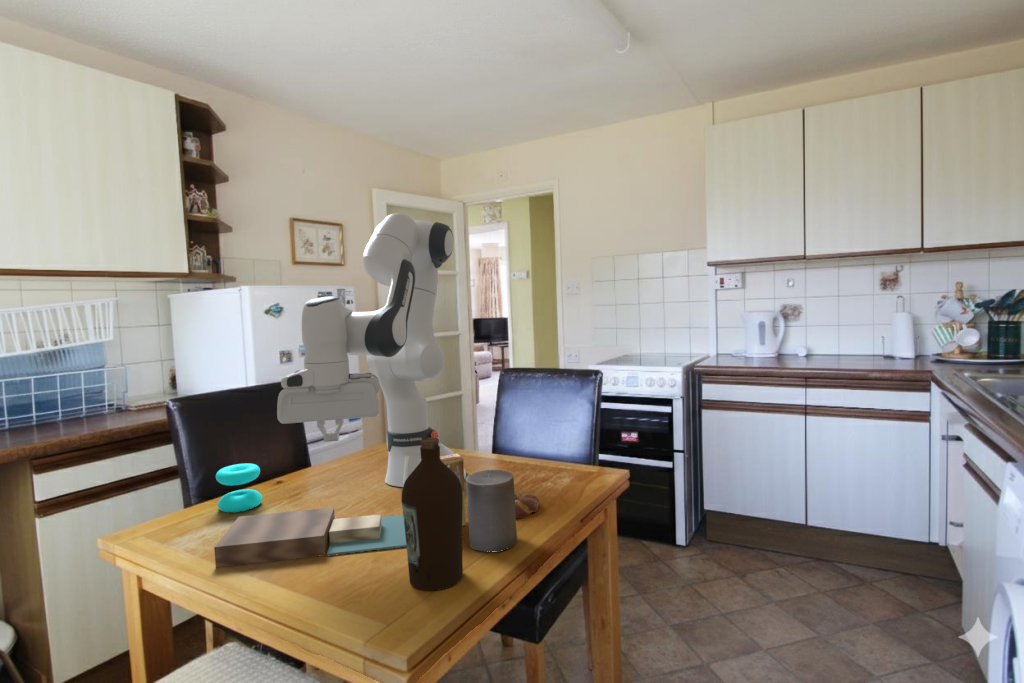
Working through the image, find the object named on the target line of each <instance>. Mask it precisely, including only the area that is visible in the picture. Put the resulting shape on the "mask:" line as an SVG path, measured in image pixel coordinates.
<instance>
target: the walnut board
mask: <svg viewBox="0 0 1024 683" xmlns="http://www.w3.org/2000/svg"><path fill="white" fill-rule="evenodd" d="M334 519H336V518H335V507H334V506H333V507H325V508H324V507H323V508H316V509H303V510H294V511H291V510H290V511H284V512H283V511H282V512H273V513H263V514H252V515H242V516H241V515H240V516H238V517H237V518H236V519H235V521H234V522H233V523H232V524H231V525H230V527H229V528H228V529H227V530H226V532H225V533H224V534H223V536H222V537H221V538H220V540H219V541H218V542H217V543H216V544H215V545H214V547H213V549H214V560H215V564H214V565H215V568H223V567H222V566H225V567H232V565H234V566H241V565H242V564H243V565H249V564H250V565H251V563H252V564H260V563H269V561H270V562H277V560H278V561H286V560H287V559H288V560H295V559H296V558H297V559H304V558H303V557H306V558H313V557H312V556H314V557H320V556H319V555H323V556H326V554H327V551H328V548H329V545H330V542H329V541H330V537H329V531H330V528H331V525H332V522H333V520H334ZM328 544H329V545H328ZM327 547H328V548H327ZM326 550H327V551H326ZM325 553H326V554H325ZM243 565H242V566H243Z"/></svg>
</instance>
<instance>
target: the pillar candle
mask: <svg viewBox="0 0 1024 683" xmlns="http://www.w3.org/2000/svg"><path fill="white" fill-rule="evenodd" d="M464 481H465V485H466V486H465V488H466V503H467V521H468V522H467V523H468V535H469V546H470V545H471V546H470V547H472V548H474V549H473V550H475V549H476V550H475V551H479V552H483V551H485V552H484V553H487V551H488V552H489V551H490V552H492V551H501V550H504V549H507V548H510V547H512V546H513V545H514V546H515V545H516V544H517V543H518V538H517V535H518V534H517V530H518V529H517V519H516V510H515V494H516V493H515V481H514V475H513V473H512V472H510V471H508V470H500V469H487V470H486V469H484V470H479V471H476V472H472V473H471V474H469V475H466V478H465V479H464ZM514 546H513V547H514ZM513 547H512V548H513ZM472 548H471V549H472ZM510 549H511V548H510Z"/></svg>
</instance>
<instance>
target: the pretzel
mask: <svg viewBox="0 0 1024 683" xmlns="http://www.w3.org/2000/svg"><path fill="white" fill-rule="evenodd" d="M539 505H540V500H539V497H537V495H535V494H532V493H526V494H525V493H523V492H520V493H515V510H516V518H517V519H521V518H520V517H522V518H524V517H526V516H528V515H527V514H530V513H531V514H533V513H532V512H535V513H536V512H538V509H539ZM531 514H530V515H531ZM525 515H526V516H525ZM523 516H524V517H523Z"/></svg>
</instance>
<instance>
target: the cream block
mask: <svg viewBox="0 0 1024 683" xmlns="http://www.w3.org/2000/svg"><path fill="white" fill-rule="evenodd" d="M381 517H382V514H371V515H361V516H352V517H342V518H335V519H334V520H333V522H332V525H331V528H330V531H329V537H330V542H329V544H330V543H340V542H349V541H359V540H368V539H377V538H380V534H381V526H382V523H381Z"/></svg>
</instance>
